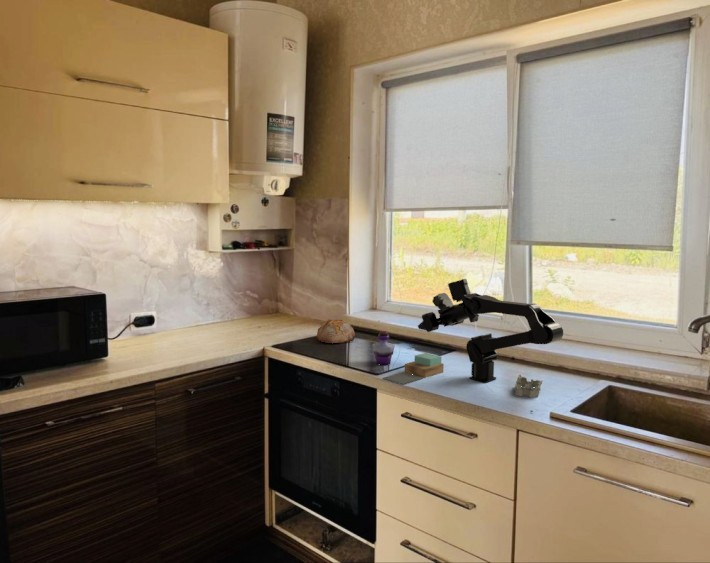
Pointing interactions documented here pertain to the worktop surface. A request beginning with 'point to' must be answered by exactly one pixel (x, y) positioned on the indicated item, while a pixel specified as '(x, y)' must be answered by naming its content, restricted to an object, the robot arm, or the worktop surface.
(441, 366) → the block
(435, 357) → the tile
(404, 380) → the mat
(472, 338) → the robot arm
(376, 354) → the potion bottle
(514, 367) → the worktop surface
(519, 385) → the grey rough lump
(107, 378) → the worktop surface
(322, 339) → the bread
